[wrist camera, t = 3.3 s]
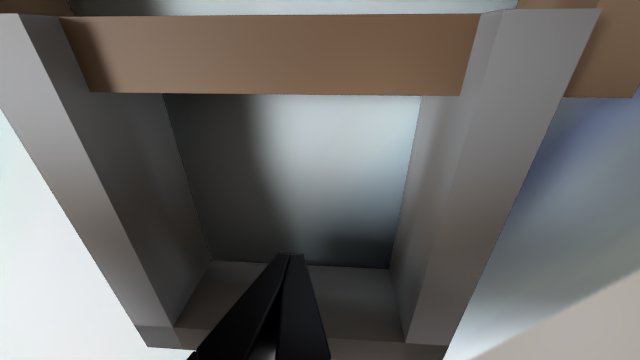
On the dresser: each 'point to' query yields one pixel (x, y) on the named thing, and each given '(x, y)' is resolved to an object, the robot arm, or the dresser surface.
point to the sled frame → (311, 79)
